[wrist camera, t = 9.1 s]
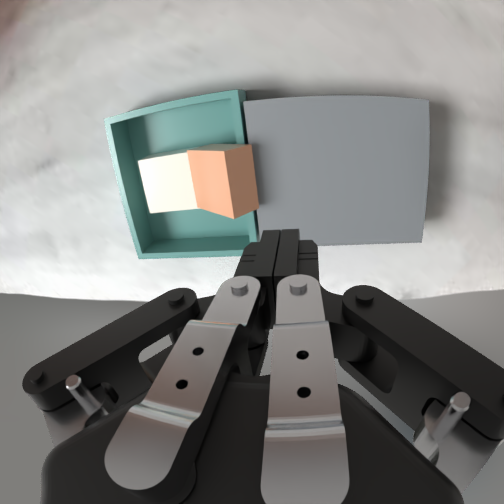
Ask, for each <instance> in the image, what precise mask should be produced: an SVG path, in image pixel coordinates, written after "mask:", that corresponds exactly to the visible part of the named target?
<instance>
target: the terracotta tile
mask: <svg viewBox="0 0 504 504" xmlns="http://www.w3.org/2000/svg"><path fill="white" fill-rule="evenodd" d="M187 154H188V160H189V165H190V171H191V176H192V182H193V187H194V192H195V198H196V203H197V208H201V209H204V210H207V211H210V212H213V213H217V214H220V215H223V216H226V217H229V218H232V219H236V218H238V217H240V216H242V215H245V214H247V213H249V212H252V211H254V210H256V209H259V202H258V194H257V186H256V177H255V169H254V161H253V153H252V145H251V144H209V145H205V146H201V147H197V148H193V149H190V150H187Z"/></svg>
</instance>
